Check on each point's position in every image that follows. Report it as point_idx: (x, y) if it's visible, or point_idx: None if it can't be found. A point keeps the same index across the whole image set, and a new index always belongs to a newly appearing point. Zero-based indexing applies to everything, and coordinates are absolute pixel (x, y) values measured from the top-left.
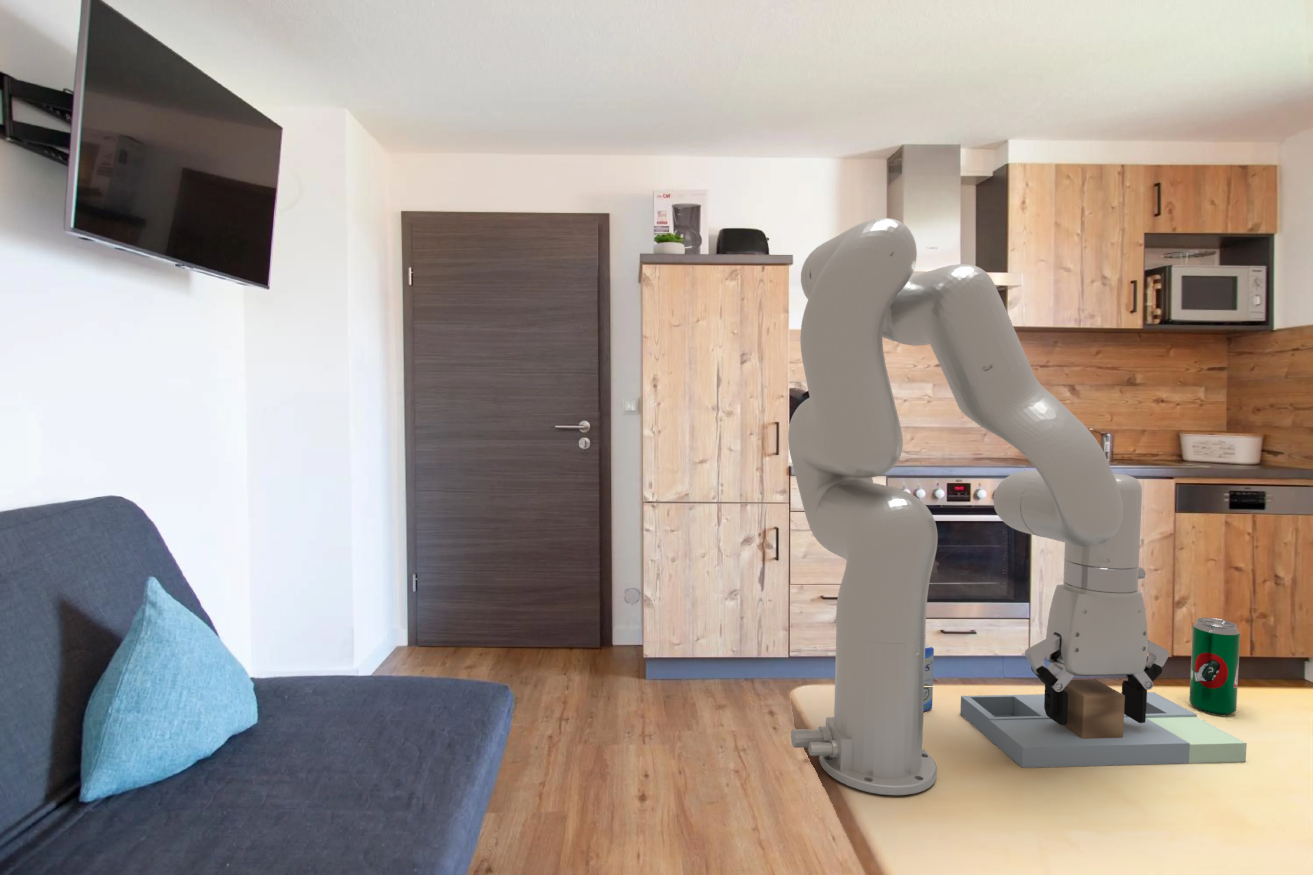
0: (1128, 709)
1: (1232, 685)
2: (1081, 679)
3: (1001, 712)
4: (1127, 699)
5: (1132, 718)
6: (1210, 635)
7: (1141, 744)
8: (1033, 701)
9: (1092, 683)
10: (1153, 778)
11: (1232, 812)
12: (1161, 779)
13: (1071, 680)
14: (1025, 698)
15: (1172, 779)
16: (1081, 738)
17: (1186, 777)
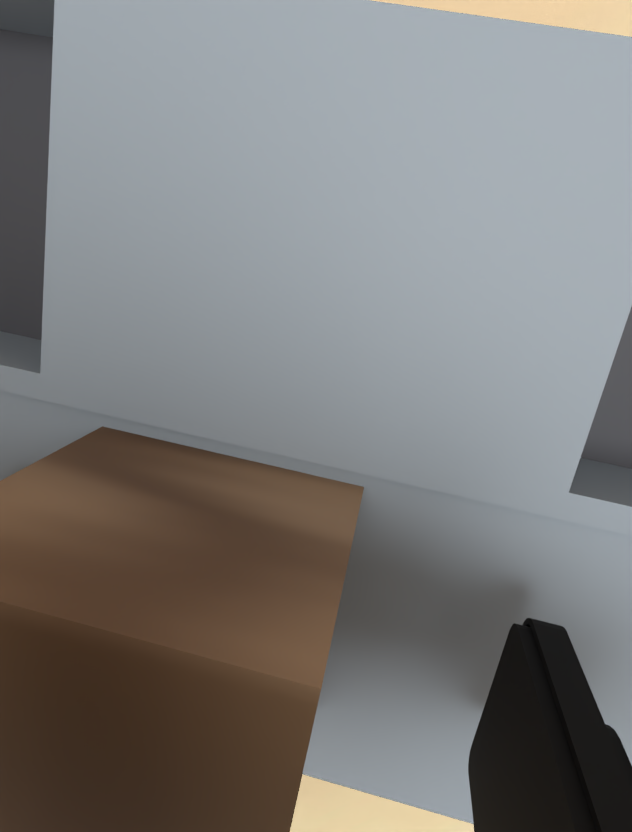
0: (504, 714)
1: None
2: (135, 645)
3: (42, 34)
4: (516, 771)
5: (483, 713)
6: None
7: (345, 783)
8: (146, 132)
9: (173, 757)
10: (301, 781)
11: None
12: (326, 796)
13: (4, 623)
14: (121, 60)
15: (371, 811)
16: None
17: (446, 823)
